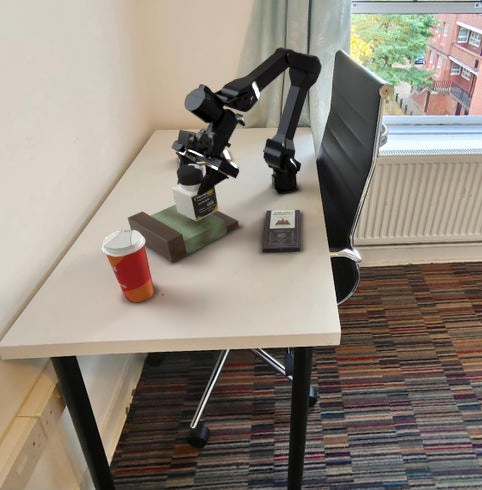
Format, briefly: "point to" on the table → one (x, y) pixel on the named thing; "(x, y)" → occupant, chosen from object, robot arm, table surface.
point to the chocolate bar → (282, 231)
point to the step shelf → (180, 231)
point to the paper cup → (129, 264)
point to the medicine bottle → (193, 193)
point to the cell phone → (224, 155)
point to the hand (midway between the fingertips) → (188, 190)
